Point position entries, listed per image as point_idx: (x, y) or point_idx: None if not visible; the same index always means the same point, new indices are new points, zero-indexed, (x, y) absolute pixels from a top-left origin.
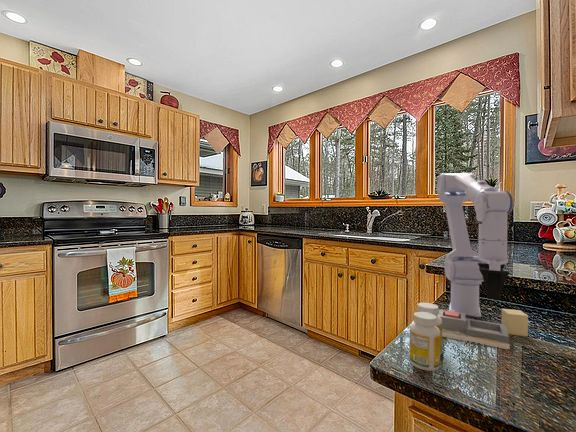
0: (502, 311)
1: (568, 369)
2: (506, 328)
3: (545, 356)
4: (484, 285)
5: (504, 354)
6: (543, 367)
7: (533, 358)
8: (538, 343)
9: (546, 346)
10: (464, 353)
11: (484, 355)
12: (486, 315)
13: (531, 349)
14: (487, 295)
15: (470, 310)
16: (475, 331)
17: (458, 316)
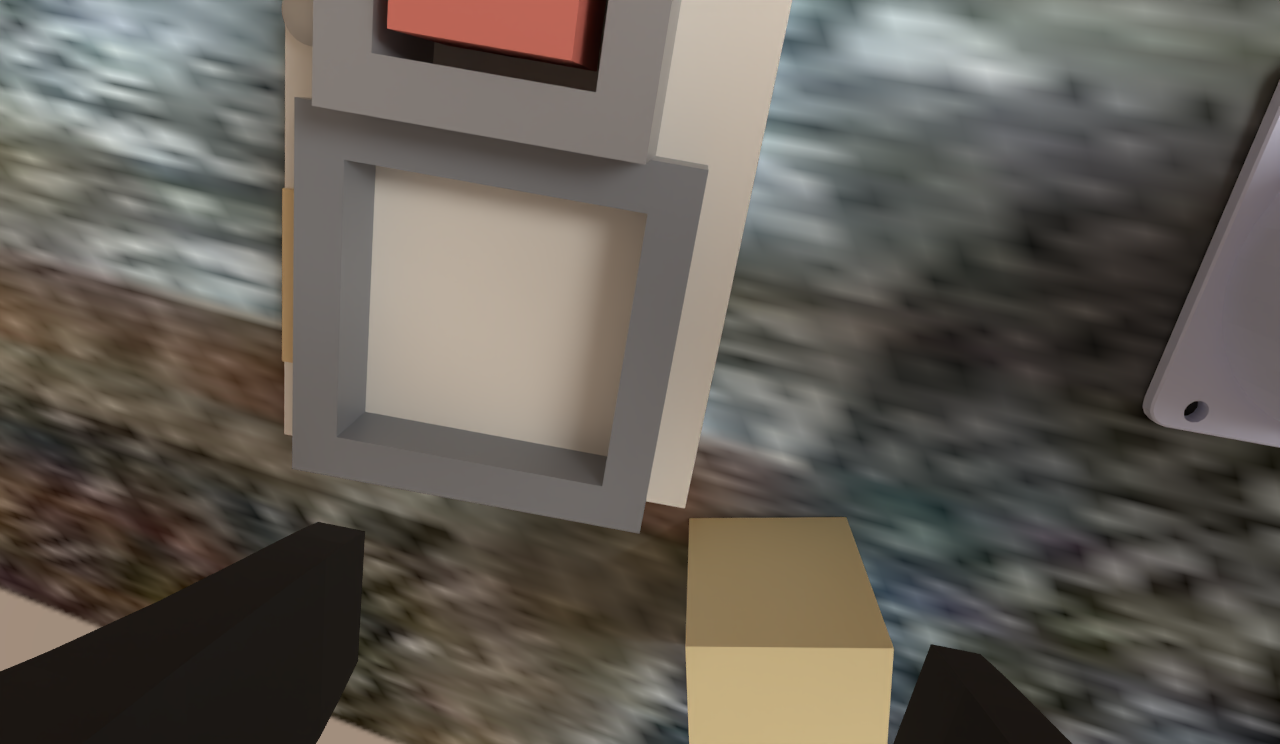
0: (855, 629)
1: None
2: (722, 539)
3: None
4: (976, 708)
5: (198, 355)
6: (126, 530)
7: (243, 525)
8: (563, 658)
9: (525, 684)
10: (14, 25)
11: (81, 194)
12: (1229, 489)
13: (410, 571)
14: (276, 543)
15: (1251, 335)
16: (300, 196)
17: (391, 24)
